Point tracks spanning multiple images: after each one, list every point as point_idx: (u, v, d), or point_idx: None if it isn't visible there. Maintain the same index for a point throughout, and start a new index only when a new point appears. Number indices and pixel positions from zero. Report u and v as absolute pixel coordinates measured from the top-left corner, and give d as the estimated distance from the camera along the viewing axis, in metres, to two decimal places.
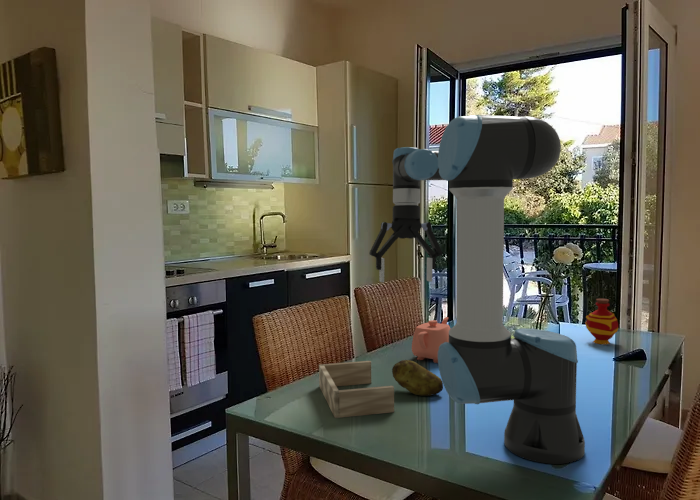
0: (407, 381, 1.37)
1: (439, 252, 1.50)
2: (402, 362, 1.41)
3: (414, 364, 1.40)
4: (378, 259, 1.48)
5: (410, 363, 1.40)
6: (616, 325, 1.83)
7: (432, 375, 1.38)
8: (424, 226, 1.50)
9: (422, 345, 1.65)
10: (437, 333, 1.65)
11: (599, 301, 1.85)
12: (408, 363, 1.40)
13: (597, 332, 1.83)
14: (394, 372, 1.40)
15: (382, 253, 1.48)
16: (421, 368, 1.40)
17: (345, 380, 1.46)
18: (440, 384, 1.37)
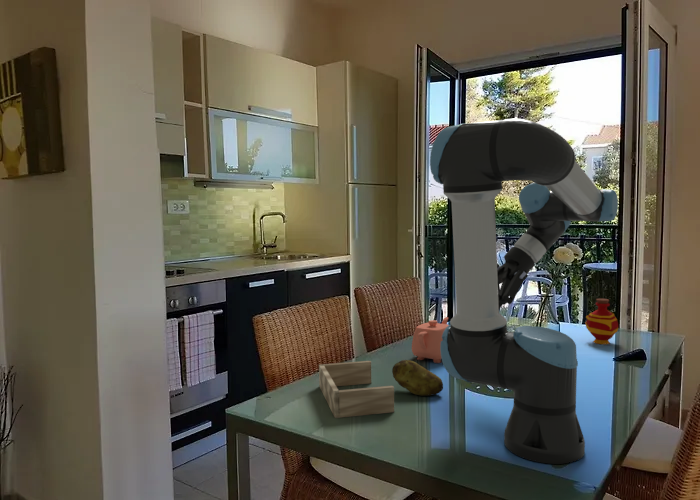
0: (407, 381, 1.37)
1: (504, 294, 1.34)
2: (402, 362, 1.41)
3: (414, 364, 1.40)
4: None
5: (410, 363, 1.40)
6: (616, 325, 1.83)
7: (432, 375, 1.38)
8: None
9: (422, 345, 1.65)
10: (437, 333, 1.65)
11: (599, 301, 1.85)
12: (408, 363, 1.40)
13: (597, 332, 1.83)
14: (394, 372, 1.40)
15: None
16: (421, 368, 1.40)
17: (345, 380, 1.46)
18: (440, 384, 1.37)
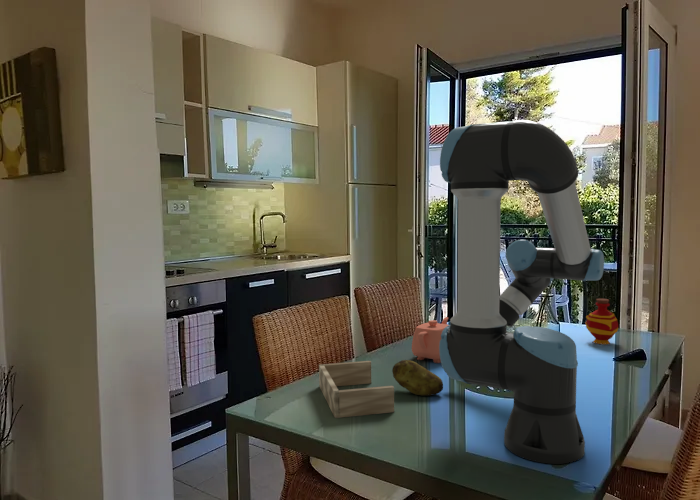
0: (408, 381, 1.37)
1: None
2: (402, 362, 1.41)
3: (414, 364, 1.40)
4: None
5: (410, 363, 1.40)
6: (616, 325, 1.83)
7: (432, 375, 1.38)
8: None
9: (422, 345, 1.65)
10: (437, 333, 1.65)
11: (599, 301, 1.85)
12: (408, 363, 1.40)
13: (597, 332, 1.83)
14: (394, 372, 1.40)
15: None
16: (421, 368, 1.40)
17: (345, 380, 1.46)
18: (440, 384, 1.37)
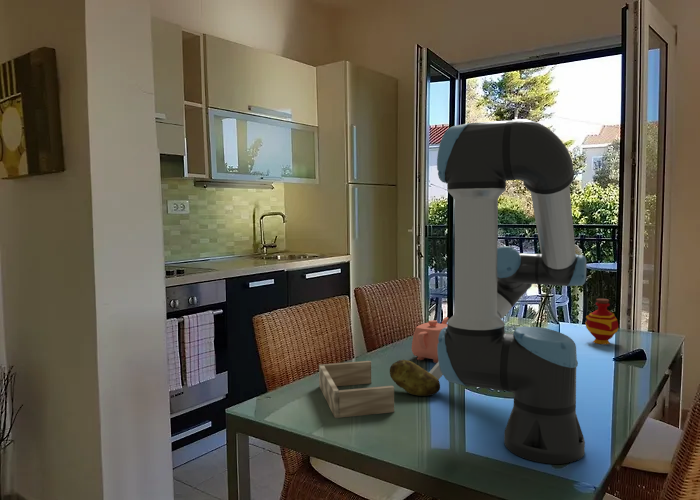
0: (404, 381, 1.37)
1: None
2: (399, 362, 1.41)
3: (411, 364, 1.40)
4: None
5: (407, 363, 1.40)
6: (616, 325, 1.83)
7: (429, 376, 1.38)
8: None
9: (422, 345, 1.65)
10: (437, 333, 1.65)
11: (599, 301, 1.85)
12: (405, 363, 1.40)
13: (597, 332, 1.83)
14: (391, 372, 1.40)
15: None
16: (418, 368, 1.40)
17: (345, 380, 1.46)
18: (437, 384, 1.37)
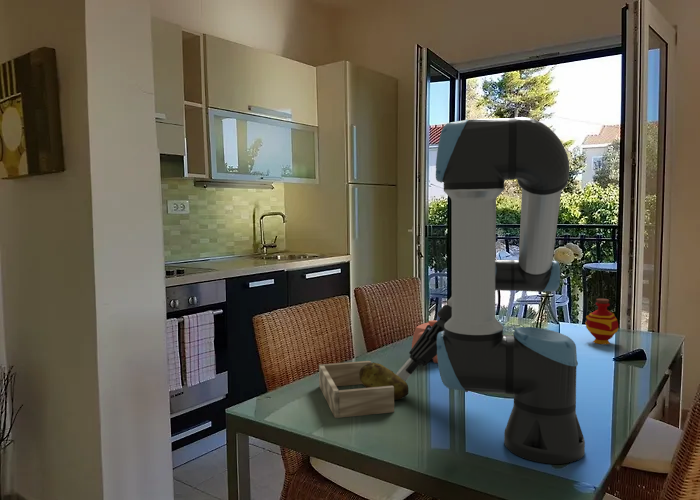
0: (372, 385, 1.35)
1: (419, 356, 1.38)
2: (369, 365, 1.39)
3: (381, 367, 1.38)
4: None
5: (376, 366, 1.38)
6: (616, 325, 1.83)
7: (397, 379, 1.35)
8: None
9: None
10: None
11: (599, 301, 1.85)
12: (374, 366, 1.38)
13: (597, 332, 1.83)
14: (360, 375, 1.38)
15: (414, 352, 1.42)
16: (387, 371, 1.37)
17: (345, 380, 1.46)
18: (404, 389, 1.34)
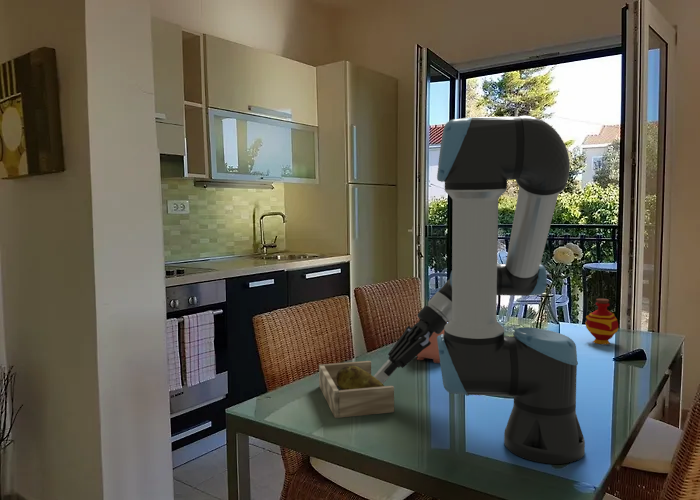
0: (348, 389, 1.33)
1: (397, 358, 1.35)
2: (345, 368, 1.36)
3: (357, 370, 1.35)
4: None
5: (352, 369, 1.35)
6: (616, 325, 1.83)
7: (374, 382, 1.32)
8: None
9: None
10: None
11: (599, 301, 1.85)
12: (350, 369, 1.35)
13: (597, 332, 1.83)
14: (337, 379, 1.36)
15: (393, 354, 1.39)
16: (364, 374, 1.34)
17: None
18: None
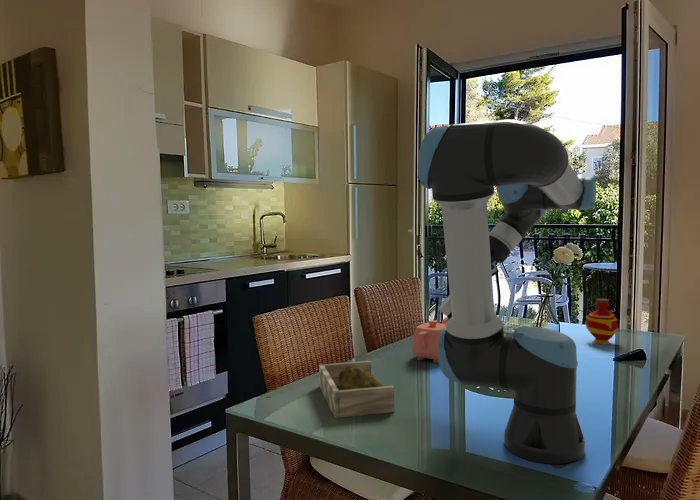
0: (349, 388, 1.33)
1: None
2: (348, 368, 1.36)
3: (360, 371, 1.35)
4: None
5: (355, 370, 1.35)
6: (616, 325, 1.83)
7: (376, 384, 1.32)
8: None
9: (422, 345, 1.65)
10: (437, 333, 1.65)
11: (599, 301, 1.85)
12: (353, 369, 1.35)
13: (597, 332, 1.83)
14: (339, 378, 1.36)
15: None
16: (366, 375, 1.34)
17: None
18: None
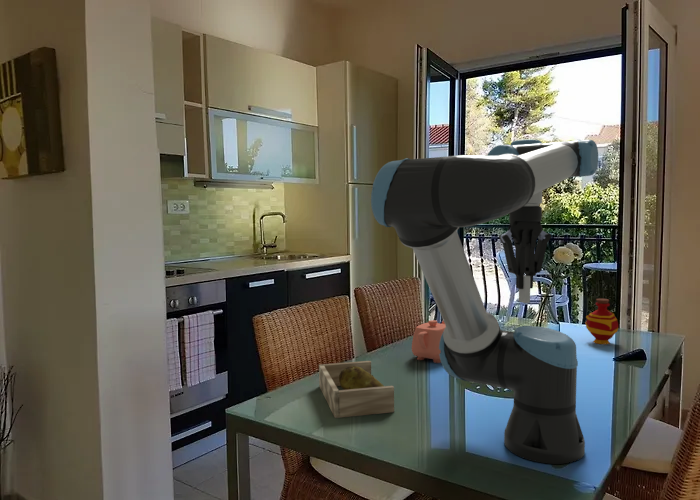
0: (350, 388, 1.33)
1: (538, 268, 1.31)
2: (348, 368, 1.36)
3: (360, 370, 1.35)
4: (520, 277, 1.31)
5: (356, 369, 1.35)
6: (616, 325, 1.83)
7: (376, 384, 1.32)
8: (542, 234, 1.32)
9: (422, 345, 1.65)
10: (437, 333, 1.65)
11: (599, 301, 1.85)
12: (354, 369, 1.35)
13: (597, 332, 1.83)
14: (339, 378, 1.36)
15: (523, 269, 1.31)
16: (366, 375, 1.34)
17: None
18: None
